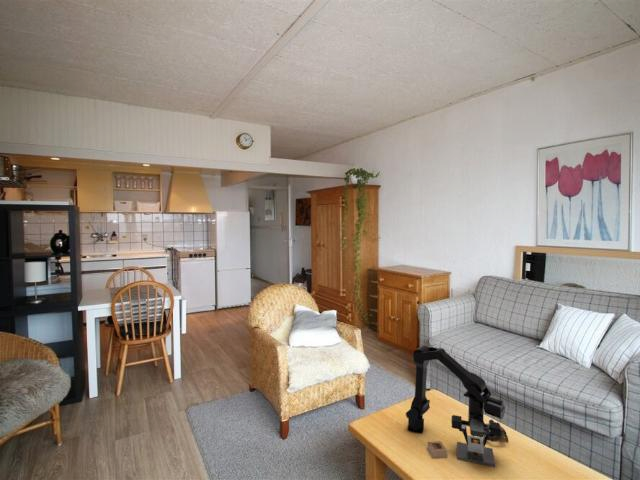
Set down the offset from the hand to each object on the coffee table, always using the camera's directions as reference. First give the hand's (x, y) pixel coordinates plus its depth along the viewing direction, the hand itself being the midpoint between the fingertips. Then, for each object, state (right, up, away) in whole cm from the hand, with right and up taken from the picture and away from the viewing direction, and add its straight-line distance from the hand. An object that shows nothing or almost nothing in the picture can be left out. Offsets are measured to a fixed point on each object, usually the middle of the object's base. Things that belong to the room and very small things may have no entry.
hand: (475, 445), depth 147 cm
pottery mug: (+14, -4, +11) cm, 18 cm away
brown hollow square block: (-15, -5, +2) cm, 16 cm away
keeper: (0, -5, 0) cm, 4 cm away
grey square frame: (0, -1, 0) cm, 1 cm away
